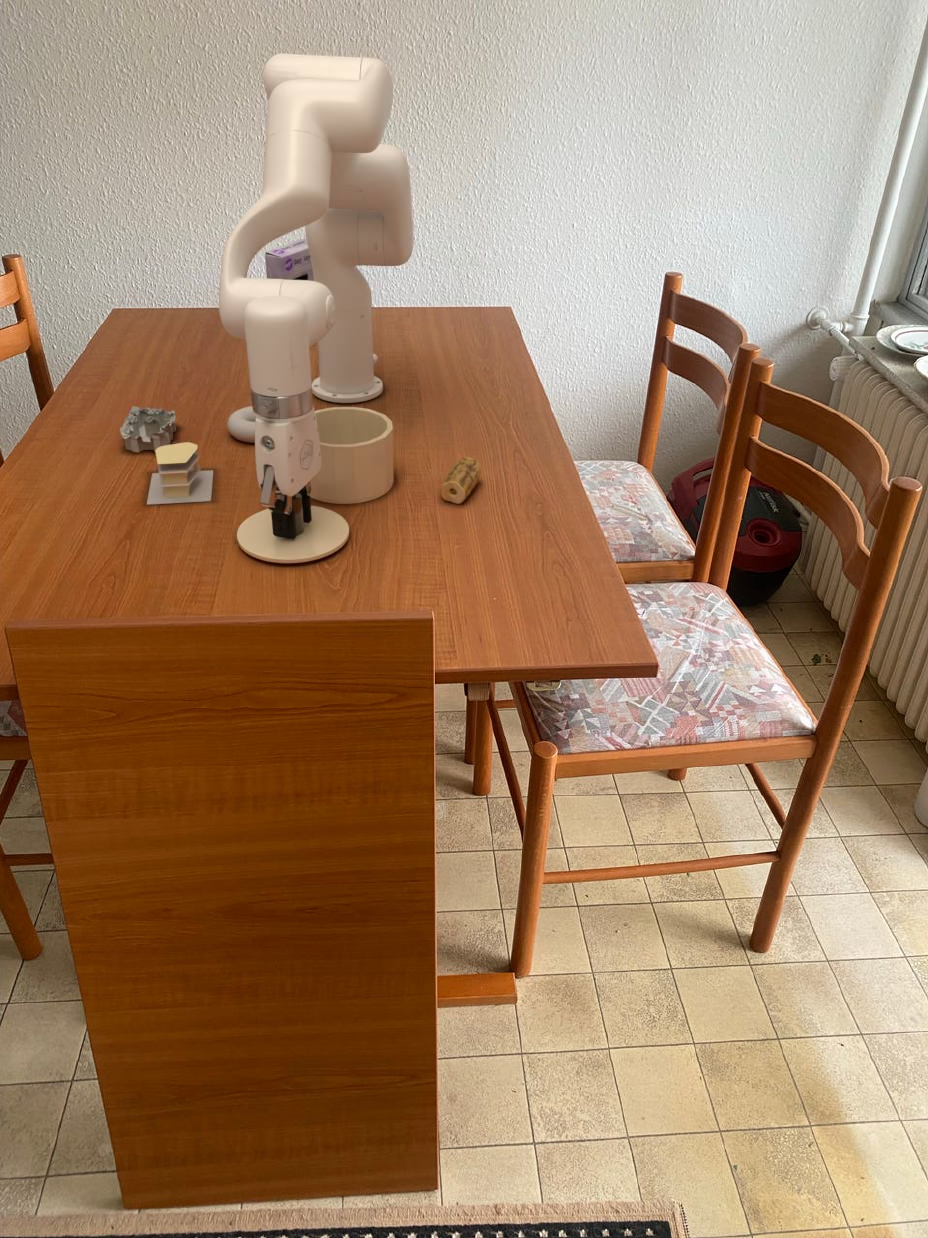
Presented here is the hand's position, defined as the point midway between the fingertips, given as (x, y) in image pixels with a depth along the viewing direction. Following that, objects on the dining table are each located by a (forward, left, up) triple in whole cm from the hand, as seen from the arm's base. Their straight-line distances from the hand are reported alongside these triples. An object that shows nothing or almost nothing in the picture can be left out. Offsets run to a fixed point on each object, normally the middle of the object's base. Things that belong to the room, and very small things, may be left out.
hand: (292, 527), depth 139 cm
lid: (0, 0, -1) cm, 1 cm away
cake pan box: (-77, -34, -2) cm, 84 cm away
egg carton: (-21, -35, -2) cm, 41 cm away
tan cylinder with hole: (-21, +17, -2) cm, 27 cm away
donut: (-29, -20, -2) cm, 35 cm away
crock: (-18, 0, -2) cm, 18 cm away
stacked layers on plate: (-8, -22, -2) cm, 23 cm away
